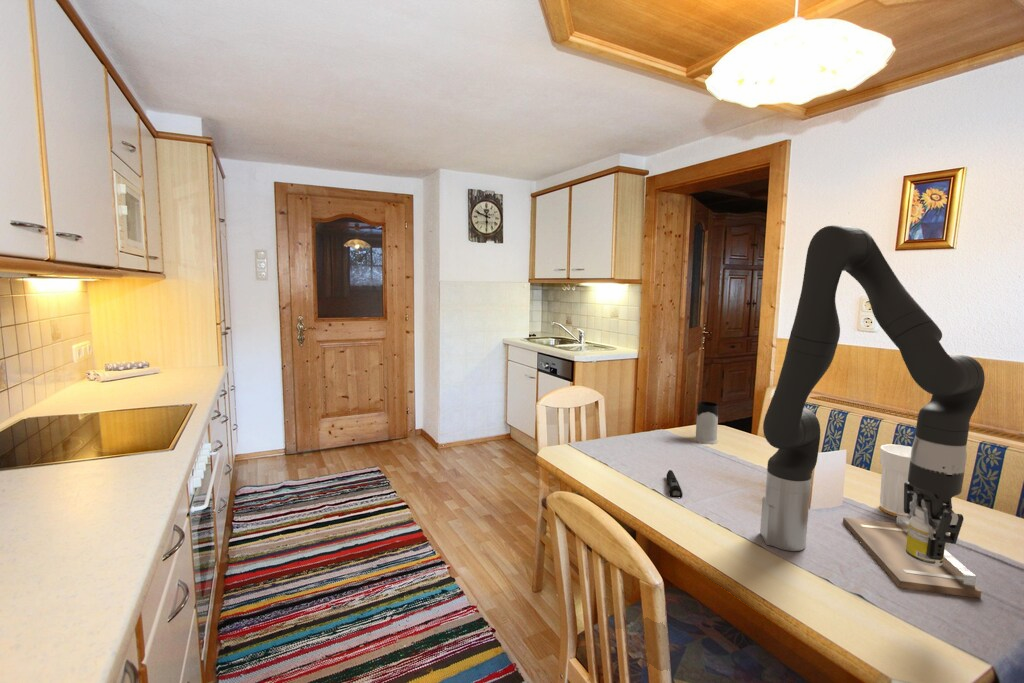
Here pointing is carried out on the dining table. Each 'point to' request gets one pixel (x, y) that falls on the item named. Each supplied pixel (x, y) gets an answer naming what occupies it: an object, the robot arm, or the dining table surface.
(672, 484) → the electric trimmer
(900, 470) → the cup
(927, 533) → the supplement bottle
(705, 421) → the glass holder
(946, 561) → the metal straightedge
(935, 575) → the brown flat wooden board
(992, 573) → the dining table surface
